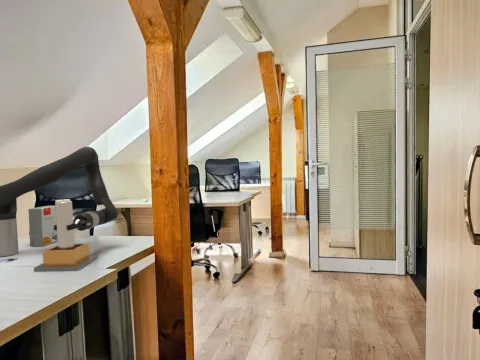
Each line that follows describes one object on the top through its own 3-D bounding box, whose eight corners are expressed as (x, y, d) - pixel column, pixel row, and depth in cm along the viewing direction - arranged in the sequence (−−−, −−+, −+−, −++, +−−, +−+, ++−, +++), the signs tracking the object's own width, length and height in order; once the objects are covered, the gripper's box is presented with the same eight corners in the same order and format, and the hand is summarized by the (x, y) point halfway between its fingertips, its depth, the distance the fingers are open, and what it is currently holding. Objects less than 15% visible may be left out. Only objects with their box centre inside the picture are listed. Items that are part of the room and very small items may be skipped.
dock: (34, 271, 146) (32, 253, 146) (57, 259, 164) (56, 242, 164) (78, 270, 146) (77, 251, 145) (97, 258, 164) (96, 241, 163)
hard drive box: (42, 246, 192) (40, 208, 190) (29, 246, 193) (27, 209, 192) (61, 240, 207) (59, 205, 206) (49, 240, 208) (47, 205, 207)
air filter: (69, 260, 151) (64, 200, 150) (55, 260, 152) (51, 200, 151) (78, 256, 157) (75, 198, 156) (65, 256, 159) (61, 198, 157)
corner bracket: (75, 240, 205) (73, 219, 204) (64, 238, 212) (63, 217, 211) (92, 237, 213) (91, 216, 213) (82, 235, 220) (81, 215, 219)
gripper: (72, 212, 169) (45, 218, 153) (100, 212, 166) (75, 219, 150) (73, 228, 170) (46, 236, 153) (101, 229, 167) (76, 237, 150)
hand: (61, 227), depth 152 cm, fingers closed on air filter, 5 cm apart
